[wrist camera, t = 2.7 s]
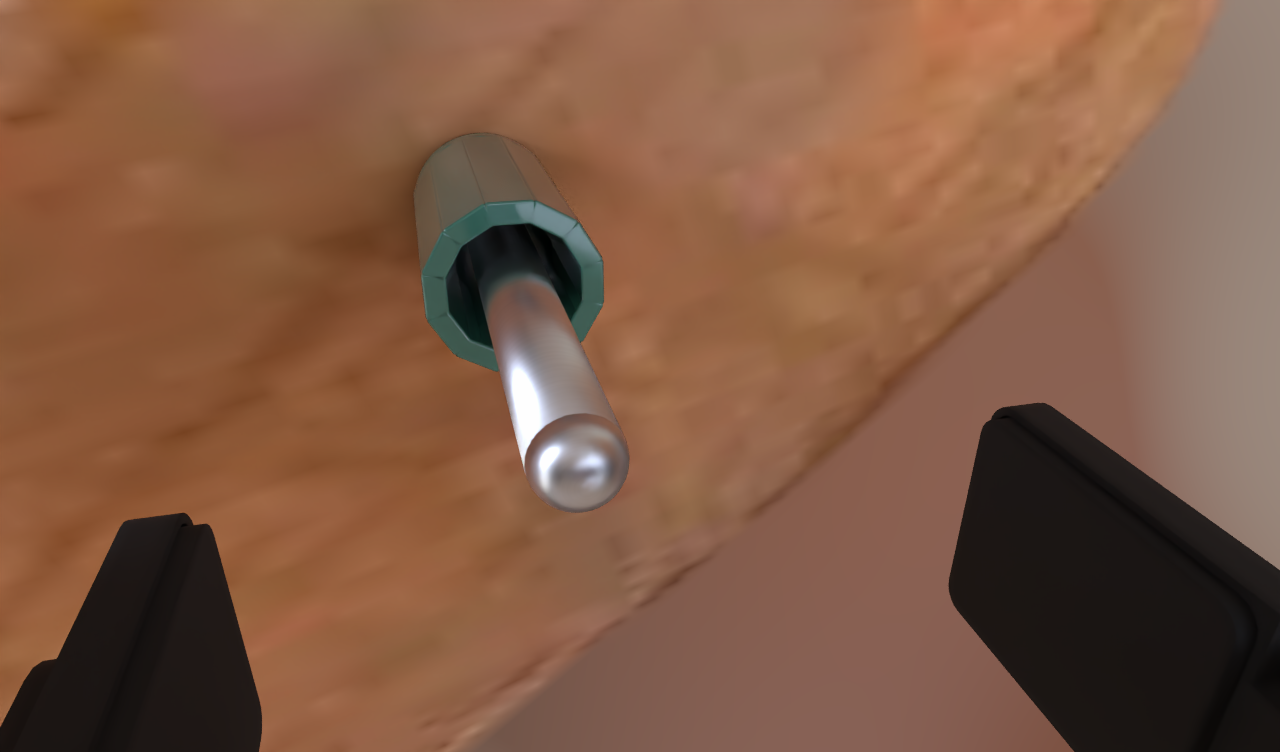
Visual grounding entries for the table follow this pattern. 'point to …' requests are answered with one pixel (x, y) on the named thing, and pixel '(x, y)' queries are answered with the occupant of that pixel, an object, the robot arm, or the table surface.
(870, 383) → the table surface
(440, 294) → the pen holder
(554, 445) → the silver metal rod
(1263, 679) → the robot arm
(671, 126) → the table surface
